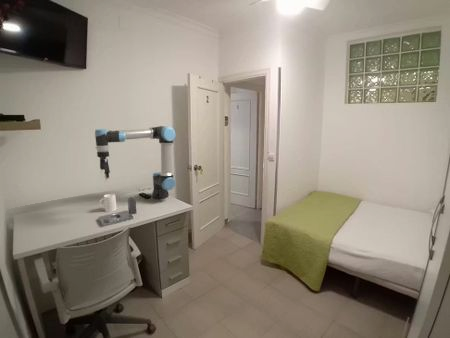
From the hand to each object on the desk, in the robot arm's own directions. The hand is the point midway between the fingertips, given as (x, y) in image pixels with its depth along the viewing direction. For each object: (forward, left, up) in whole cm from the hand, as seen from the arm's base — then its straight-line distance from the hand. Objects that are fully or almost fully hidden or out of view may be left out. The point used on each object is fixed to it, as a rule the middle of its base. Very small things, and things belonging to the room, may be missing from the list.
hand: (105, 179), depth 169 cm
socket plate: (-1, +14, -26) cm, 30 cm away
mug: (-1, -7, -27) cm, 28 cm away
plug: (-14, +10, -27) cm, 32 cm away
